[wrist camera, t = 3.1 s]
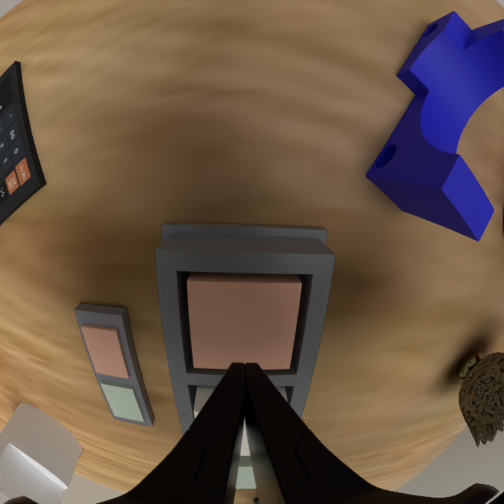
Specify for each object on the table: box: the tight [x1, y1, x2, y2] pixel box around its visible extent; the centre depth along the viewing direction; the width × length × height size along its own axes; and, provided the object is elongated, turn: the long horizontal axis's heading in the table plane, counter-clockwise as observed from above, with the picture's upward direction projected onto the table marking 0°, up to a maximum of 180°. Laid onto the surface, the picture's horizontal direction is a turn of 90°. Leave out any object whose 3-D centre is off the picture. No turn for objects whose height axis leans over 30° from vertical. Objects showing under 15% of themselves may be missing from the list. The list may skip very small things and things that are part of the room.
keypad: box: [155, 223, 335, 434], centre depth 14 cm, size 20×8×3 cm, turn 177°
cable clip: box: [365, 11, 504, 242], centre depth 8 cm, size 12×4×6 cm, turn 146°
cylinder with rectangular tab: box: [0, 403, 82, 504], centre depth 13 cm, size 9×9×12 cm
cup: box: [456, 350, 504, 447], centre depth 14 cm, size 8×7×8 cm
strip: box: [74, 303, 155, 426], centre depth 15 cm, size 10×3×1 cm, turn 177°
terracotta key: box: [187, 271, 302, 369], centre depth 12 cm, size 4×4×2 cm
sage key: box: [236, 456, 256, 489], centre depth 14 cm, size 4×4×2 cm
